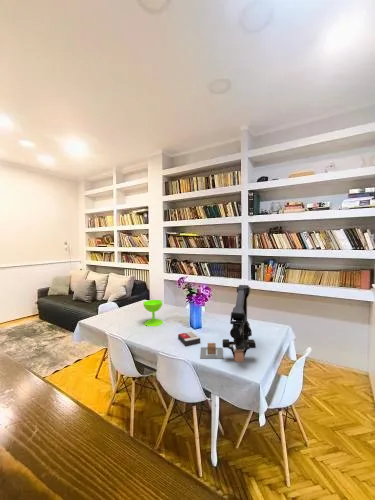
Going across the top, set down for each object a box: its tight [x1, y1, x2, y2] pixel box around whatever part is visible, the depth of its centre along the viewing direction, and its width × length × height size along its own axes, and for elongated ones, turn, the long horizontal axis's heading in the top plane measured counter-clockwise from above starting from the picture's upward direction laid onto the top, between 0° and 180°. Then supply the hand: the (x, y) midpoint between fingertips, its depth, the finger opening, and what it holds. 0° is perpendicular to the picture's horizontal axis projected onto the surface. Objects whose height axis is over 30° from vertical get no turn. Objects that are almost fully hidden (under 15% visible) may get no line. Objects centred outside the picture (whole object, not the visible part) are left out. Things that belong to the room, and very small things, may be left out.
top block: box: [234, 348, 245, 362], centre depth 147 cm, size 5×5×5 cm
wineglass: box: [143, 299, 164, 327], centre depth 211 cm, size 16×16×18 cm
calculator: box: [177, 331, 201, 347], centre depth 175 cm, size 11×4×15 cm
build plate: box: [199, 346, 224, 360], centre depth 155 cm, size 14×14×1 cm
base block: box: [207, 342, 217, 354], centre depth 155 cm, size 5×5×5 cm
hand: (238, 357), depth 147 cm, fingers closed on top block, 5 cm apart
